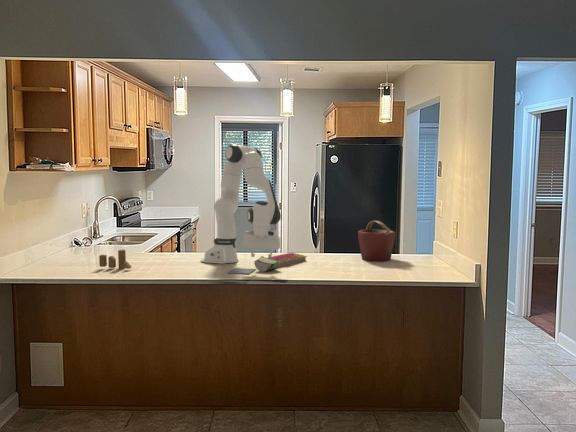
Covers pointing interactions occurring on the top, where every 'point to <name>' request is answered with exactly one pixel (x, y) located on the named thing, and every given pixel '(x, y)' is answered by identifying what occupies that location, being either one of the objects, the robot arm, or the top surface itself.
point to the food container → (266, 264)
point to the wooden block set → (112, 260)
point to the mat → (241, 271)
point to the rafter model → (285, 257)
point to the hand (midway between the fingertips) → (261, 257)
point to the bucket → (376, 243)
